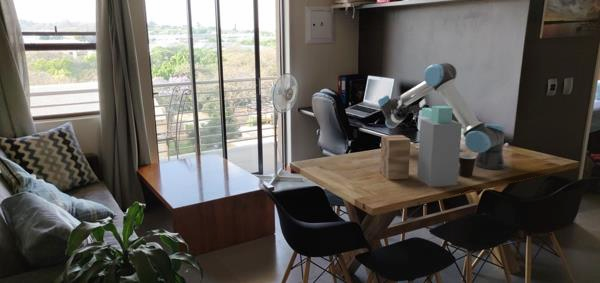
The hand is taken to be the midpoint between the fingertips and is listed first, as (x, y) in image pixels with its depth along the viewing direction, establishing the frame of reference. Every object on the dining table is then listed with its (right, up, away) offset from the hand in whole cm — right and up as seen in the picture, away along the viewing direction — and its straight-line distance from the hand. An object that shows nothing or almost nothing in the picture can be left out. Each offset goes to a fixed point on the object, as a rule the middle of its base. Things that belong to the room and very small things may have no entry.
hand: (413, 101), depth 242 cm
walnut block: (-13, -39, -12) cm, 43 cm away
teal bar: (+5, -11, -23) cm, 26 cm away
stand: (+6, -42, -22) cm, 47 cm away
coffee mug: (+24, -39, -11) cm, 48 cm away
